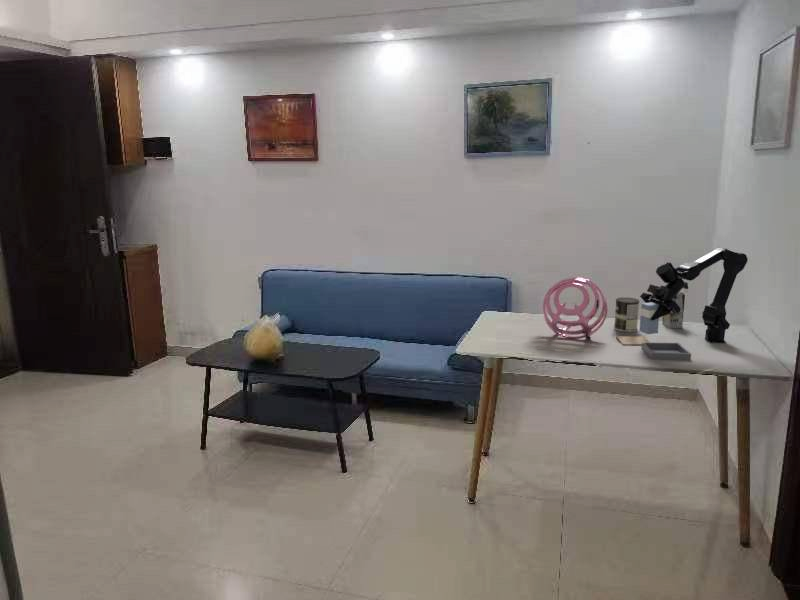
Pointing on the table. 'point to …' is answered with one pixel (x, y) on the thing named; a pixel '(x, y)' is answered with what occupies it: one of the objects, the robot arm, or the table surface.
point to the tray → (666, 351)
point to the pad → (631, 340)
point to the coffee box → (675, 319)
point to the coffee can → (626, 314)
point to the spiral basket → (577, 311)
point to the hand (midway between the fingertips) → (646, 318)
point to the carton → (648, 318)
